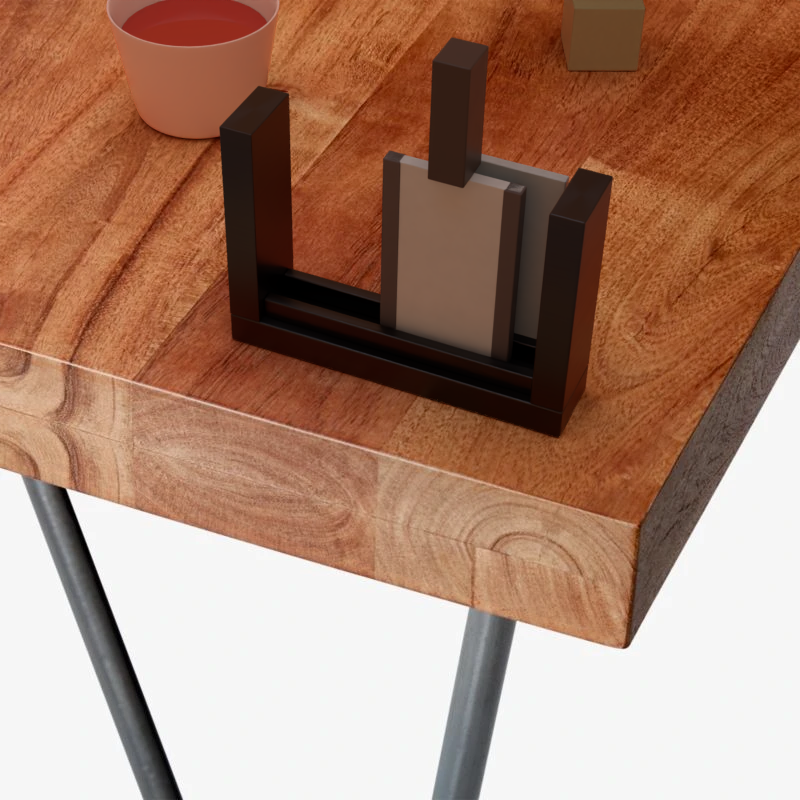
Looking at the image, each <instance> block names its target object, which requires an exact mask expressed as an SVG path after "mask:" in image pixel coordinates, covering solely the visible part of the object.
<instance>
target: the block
mask: <svg viewBox="0 0 800 800" xmlns="http://www.w3.org/2000/svg"><path fill="white" fill-rule="evenodd" d="M646 9H647V8H646V5H645V3H644V0H563V6H562V17H561V27H560V40H561V43H562V48H563V53H564V58H565V62H566V63H565V64H566V67H567V70H568V71H570V72H571V71H573V72H574V71H575V72H576V71H577V72H580V71H581V72H583V71H586V72H588V71H589V72H591V71H593V72H594V71H595V72H596V71H599V72H600V71H602V72H603V71H604V72H606V71H607V72H609V71H610V72H611V71H612V72H615V71H619V72H620V71H621V72H624V71H625V72H630V71H631V72H634V71H635V72H636V71H638V69H639V68H638V67H639V60H640V53H641V44H642V38H643V31H644V23H645V16H646Z"/></svg>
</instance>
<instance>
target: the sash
mask: <svg viewBox="0 0 800 800" xmlns="http://www.w3.org/2000/svg"><path fill="white" fill-rule="evenodd" d="M489 47H490V46H489V45H487V44H482V43H478V42H474V41H470V40H465V39H461V38H457V37H453V36H452V37H450V38H449V39H448V41H447V42H446V43H445V44H444V45H443V46H442V48H441V49H440V50H439V52H438V53H437V54H436V56H435V57H434V58H433V59H432V60H431V61H432V62H431V65H432V66H431V86H430V87H431V88H430V112H429V136H428V155H427V156H428V158H427V159H428V160H426V159H423V158H418V157H415V156H410V155H407V154H406V153H402V152H398V151H394V150H388V151H387V152H386V154H385V155H384V156H383V158H382V187H381V188H382V189H381V190H382V191H381V192H382V193H381V195H382V196H381V204H382V205H381V242H380V245H381V246H380V247H381V249H380V293H379V294H380V325H383V326H386V327H390V328H393V329H396V330H400V331H403V332H407V333H410V334H413V335H417V336H420V337H424V338H427V339H430V340H434V341H437V342H441V343H444V344H447V345H451V346H454V347H458V348H461V349H465V350H468V351H471V352H475V353H478V354H482V355H485V356H488V357H492V358H495V359H499V360H502V361H505V362H510V360H511V358H512V348H513V337H514V326H515V315H516V304H517V293H518V281H519V270H520V259H521V248H522V237H523V226H524V215H525V203H526V192H527V187H526V186H524V185H520V184H516V183H512V182H507V181H503V180H499V179H495V178H492V177H488V176H484V175H480V174H476V173H475V171H476V170H477V168H478V167H479V166H480V164H481V156H482V154H483V140H484V139H483V138H484V123H485V111H486V110H485V109H486V96H487V95H486V93H487V80H488V65H489V51H490V48H489Z"/></svg>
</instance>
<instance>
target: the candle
mask: <svg viewBox="0 0 800 800" xmlns="http://www.w3.org/2000/svg"><path fill="white" fill-rule="evenodd" d="M105 7H106V9H105V10H106V16H107V19H108V22H109V25H110V29H111V32H112V35H113V39H114V42H115V45H116V48H117V51H118V55H119V57H120V62H121V65H122V67H123V70H124V75H125V77H126V81H127V84H128V87H129V91H130V94H131V96H132V100H133V103H134V106H135V108H136V110H137V113H138V115H139V116H140V118H141V119H142V121H144V123H145V124H146V125H148V126H149V127H150V128H152V129H154V130H156V131H158V132H159V133H162V134H164V135H167V136H171V137H175V138H183V139H195V140H198V139H199V140H201V139H202V140H203V139H210V138H211V139H212V138H218V137H219V138H220V130H219V127H220V125H221V124H222V123H223V122H224V121H225V120H226V119H227V118H228V117H229V116H230V115H231V114H232V113H233V112H234V111H235V110H236V109H237V108H238V107H239V105H240V104H241V103H242V102H243V101H244V100H245V99H246V98H247V97H248V96H249V95H250V94H251V93H252V92H253V91H254V90H255V89H256V88H257V86H262V87H266V88H267V85H268V80H269V75H270V74H269V73H270V69H271V63H272V57H273V56H272V55H273V50H274V43H275V38H276V31H277V26H278V18H279V12H280V0H106V6H105Z"/></svg>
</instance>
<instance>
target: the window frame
mask: <svg viewBox="0 0 800 800" xmlns="http://www.w3.org/2000/svg"><path fill="white" fill-rule="evenodd" d="M290 114H291V113H290V93H288V92H285V91H281V90H277V89H273V88H270V87H267V86H266V87H262V86H257V88H256V89H255V90H254V91H253V92H252V93H251V94H250V95H249V96H248V97H247V98H246V99H245V100H244V101H243V102H242V103H241V104H240V105H239V107H238V108H237V109H236V110H235V111H234V112H233V113H232V114H231V115H230V116H229V117H228V118H227V119H226V120H225V121H224V122H223V123H222V124H221V125H220V127H219V130H220V136H219V145H220V147H219V148H220V162H221V164H220V165H221V180H222V181H221V182H222V195H223V196H222V197H223V212H224V213H223V214H224V230H225V246H226V249H225V250H226V264H227V281H228V283H227V284H228V294H229V295H228V299H229V313H230V327H231V338H232V339H233V340H236V341H239V342H242V343H246V344H249V345H252V346H255V347H259V348H261V349H262V348H263V349H265V350H269V351H271V352H275V353H279V354H282V355H284V356H288V357H292V358H295V359H298V360H301V361H303V362H307V363H311V364H315V365H318V366H321V367H324V368H328V369H331V370H334V371H337V372H340V373H344V374H348V375H351V376H355V377H358V378H360V379H364V380H367V381H370V382H373V383H376V384H380V385H384V386H387V387H391V388H392V389H393V388H394V389H397V390H400V391H403V392H407V393H409V394H410V393H411V394H413V395H416V396H420V397H423V398H426V399H429V400H433V401H435V402H439V403H442V404H446V405H449V406H452V407H456V408H459V409H462V410H465V411H469V412H472V413H476V414H478V415H482V416H485V417H489V418H492V419H495V420H499V421H502V422H505V423H508V424H509V423H510V424H512V425H515V426H518V427H521V428H524V429H528V430H531V431H534V432H538V433H541V434H544V435H547V436H551V437H554V438H560V437H561V436H562V434H563V432H564V430H565V428H566V426H567V424H568V423H569V420H570V418H571V417H572V414H573V413H574V411H575V409H576V407H577V405H578V403H579V401H580V400H581V398H582V396H583V394H584V392H585V390H586V386H587V379H588V371H589V363H590V356H591V349H592V341H593V335H594V333H593V332H594V327H595V318H596V311H597V304H598V296H599V289H600V288H599V287H600V280H601V273H602V264H603V258H604V249H605V242H606V235H607V226H608V220H609V212H610V205H611V195H612V187H613V182H614V181H613V180H614V176H613V175H610V174H607V173H602V172H598V171H595V170H590V169H588V168H587V169H586V168H582V167H578V168H577V170H576V171H575V173H574V174H573V175H572V177H571V179H570V176H569V175H567V174H562V173H559V172H555V171H551V170H547V169H543V168H540V167H535V166H532V165H528V164H524V163H519V162H515V161H512V160H508V159H504V158H502V157H501V158H500V157H496V156H493V155H489V154H485V153H482V156H481V164H480V166H479V167H478V168H477V170H476V171H475V173H476V174H480V175H484V176H488V177H492V178H495V179H499V180H503V181H507V182H512V183H516V184H520V185H524V186H526V187H527V192H526V203H525V215H524V226H523V237H522V248H521V259H520V270H519V281H518V293H517V304H516V315H515V326H514V337H513V348H512V358H511V360H510V362H505V361H502V360H499V359H495V358H492V357H488V356H485V355H482V354H478V353H475V352H471V351H468V350H465V349H461V348H458V347H454V346H451V345H447V344H444V343H441V342H437V341H434V340H430V339H427V338H424V337H420V336H417V335H413V334H410V333H407V332H403V331H400V330H396V329H393V328H390V327H386V326H383V325H380V293H378V292H375V291H371V290H369V289H368V290H367V289H365V288H361V287H357V286H353V285H350V284H348V283H347V284H346V283H343V282H340V281H336V280H333V279H330V278H326V277H322V276H319V275H316V274H313V273H308V272H305V271H301V270H299V269H295V268H294V235H293V234H294V232H293V199H292V198H293V195H292V193H293V191H292V189H293V188H292V159H291V157H292V156H291V155H292V153H291V152H292V151H291V119H290V118H291V115H290Z"/></svg>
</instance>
